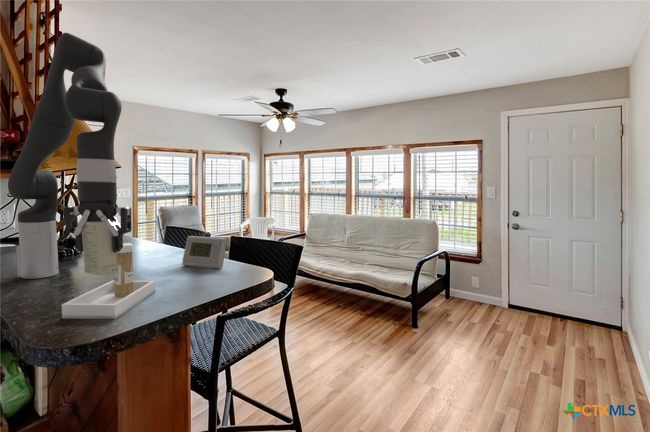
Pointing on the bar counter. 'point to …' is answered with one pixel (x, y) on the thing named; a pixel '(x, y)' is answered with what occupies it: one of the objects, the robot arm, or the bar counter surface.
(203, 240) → the digital clock
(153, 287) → the tray
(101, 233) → the skincare box
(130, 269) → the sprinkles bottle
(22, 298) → the bar counter surface
